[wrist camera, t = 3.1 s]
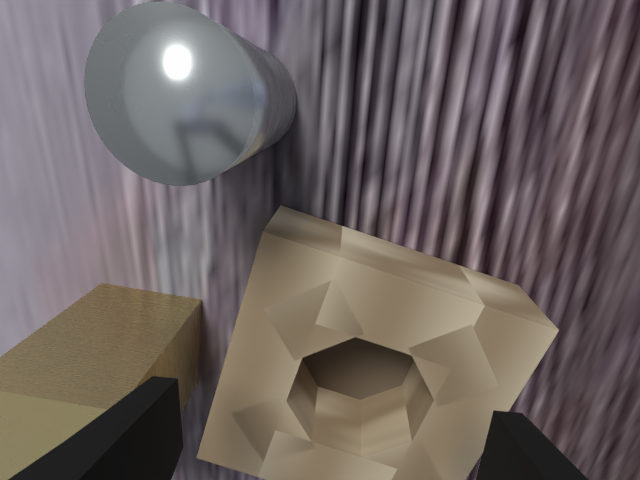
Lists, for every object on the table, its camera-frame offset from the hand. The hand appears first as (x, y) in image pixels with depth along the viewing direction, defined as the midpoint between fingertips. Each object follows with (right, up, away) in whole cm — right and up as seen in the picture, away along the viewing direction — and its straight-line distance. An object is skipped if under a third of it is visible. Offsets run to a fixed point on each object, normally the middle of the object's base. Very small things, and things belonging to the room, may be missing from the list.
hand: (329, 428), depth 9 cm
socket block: (+1, 0, +7) cm, 7 cm away
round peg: (-3, +9, +4) cm, 10 cm away
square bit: (-7, 0, +7) cm, 10 cm away
